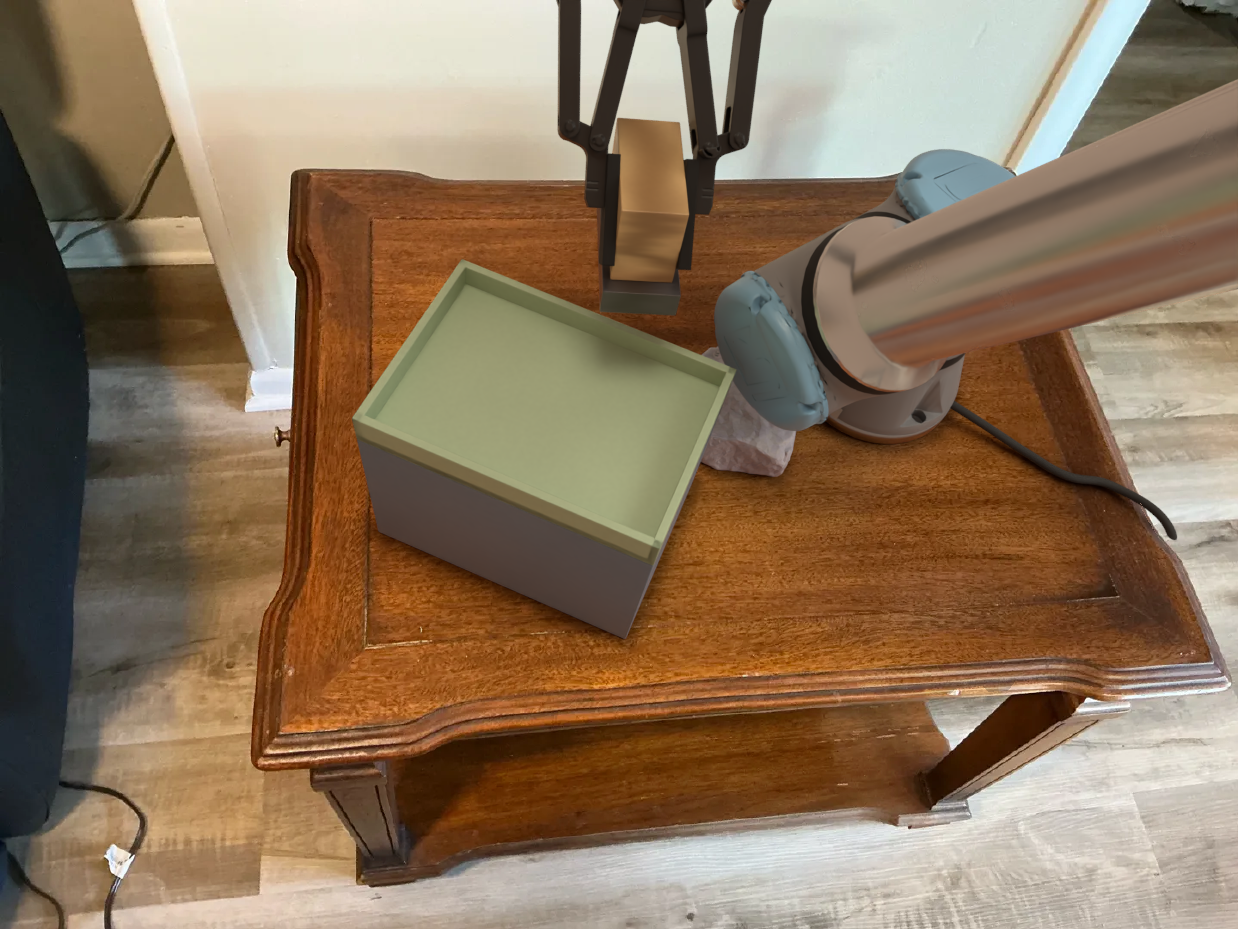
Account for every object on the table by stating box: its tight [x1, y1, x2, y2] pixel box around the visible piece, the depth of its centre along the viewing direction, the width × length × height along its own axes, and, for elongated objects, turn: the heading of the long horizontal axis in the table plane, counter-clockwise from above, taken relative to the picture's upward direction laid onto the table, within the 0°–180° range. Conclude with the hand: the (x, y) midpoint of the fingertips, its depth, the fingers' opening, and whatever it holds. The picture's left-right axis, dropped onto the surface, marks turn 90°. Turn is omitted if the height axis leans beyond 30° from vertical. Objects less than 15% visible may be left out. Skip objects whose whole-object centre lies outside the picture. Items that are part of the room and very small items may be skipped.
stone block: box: [700, 345, 797, 478], centre depth 82 cm, size 12×5×10 cm
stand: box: [356, 395, 727, 640], centre depth 70 cm, size 21×15×14 cm
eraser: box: [596, 117, 689, 316], centre depth 59 cm, size 5×10×8 cm, turn 2°
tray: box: [351, 258, 736, 566], centre depth 63 cm, size 21×15×3 cm
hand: (644, 265), depth 58 cm, fingers closed on eraser, 4 cm apart
